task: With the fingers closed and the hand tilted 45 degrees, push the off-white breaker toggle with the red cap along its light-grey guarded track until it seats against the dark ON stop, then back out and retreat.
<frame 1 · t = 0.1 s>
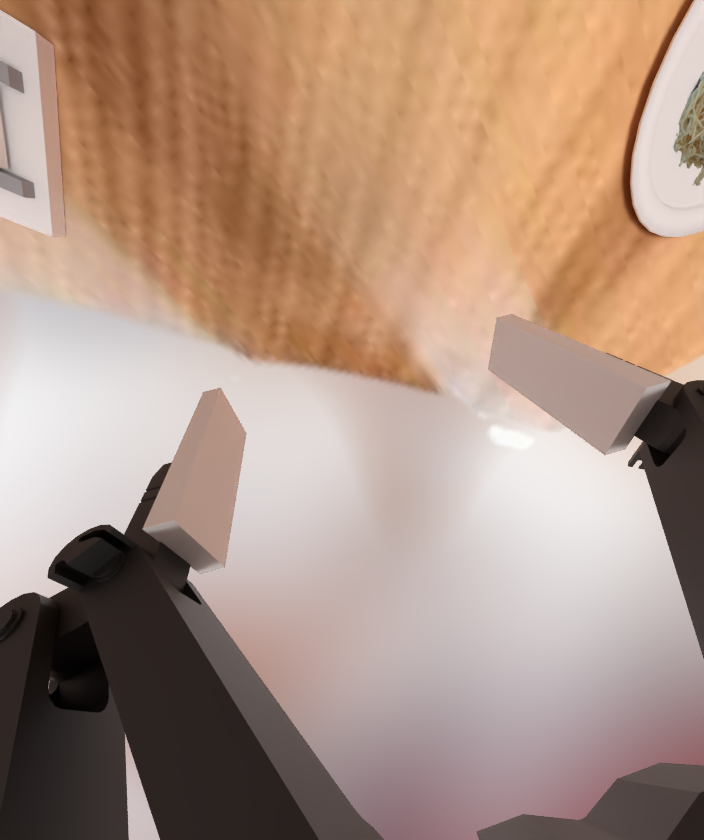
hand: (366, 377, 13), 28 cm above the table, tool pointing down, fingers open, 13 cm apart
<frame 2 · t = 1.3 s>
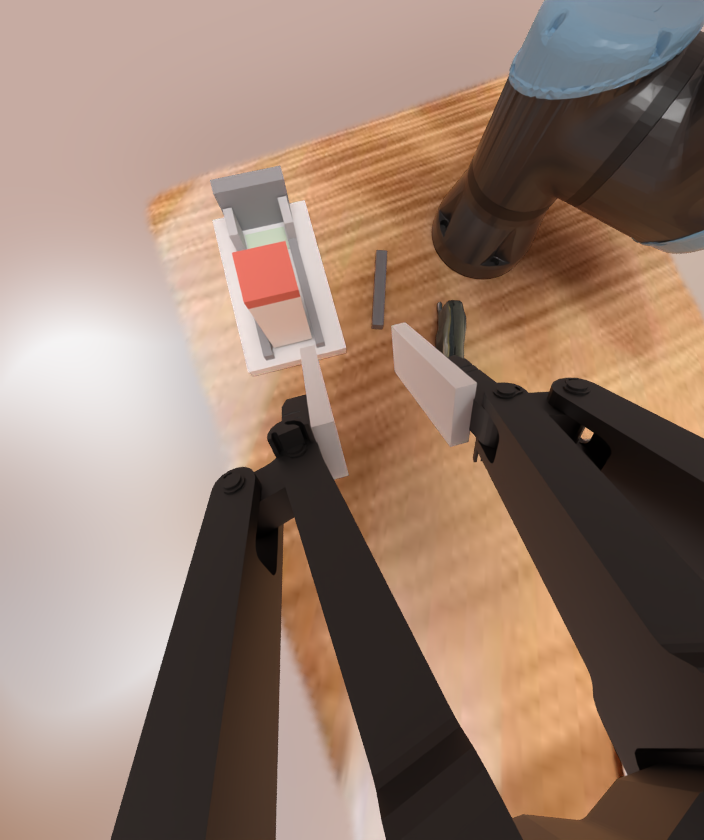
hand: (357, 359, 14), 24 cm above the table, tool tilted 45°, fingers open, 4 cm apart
gray railed slide base: (280, 290, 41), on the table
gray rectangular bar: (378, 293, 41), on the table
toggle: (278, 302, 32), point 8 cm above the table, slide at 0.0 cm
mobile phone: (442, 352, 40), on the table
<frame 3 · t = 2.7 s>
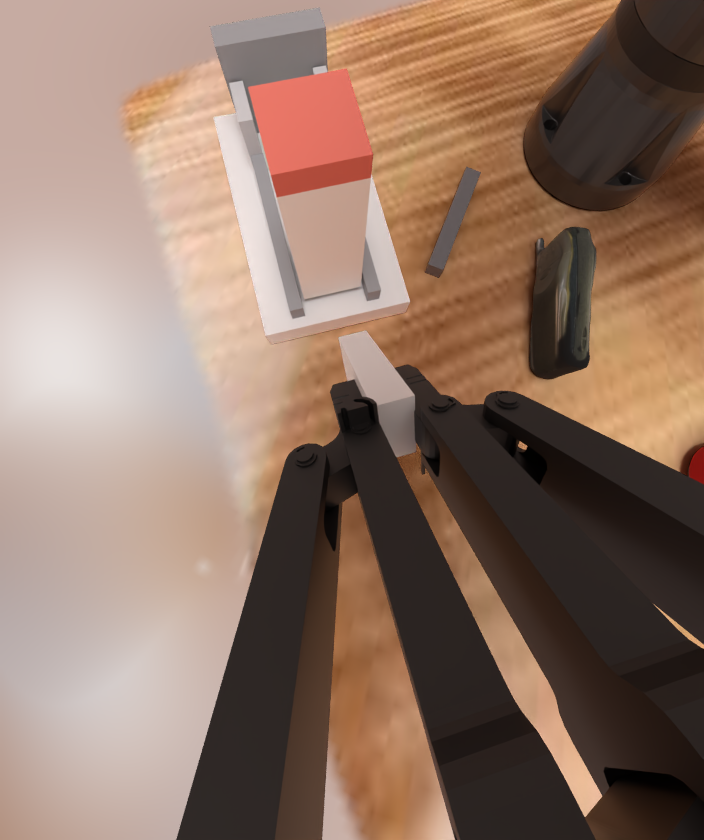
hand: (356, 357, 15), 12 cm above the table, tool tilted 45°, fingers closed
gray railed slide base: (311, 223, 28), on the table
gray rectangular bar: (449, 229, 29), on the table
toggle: (319, 214, 20), point 8 cm above the table, slide at 0.0 cm
mobile phone: (539, 311, 28), on the table
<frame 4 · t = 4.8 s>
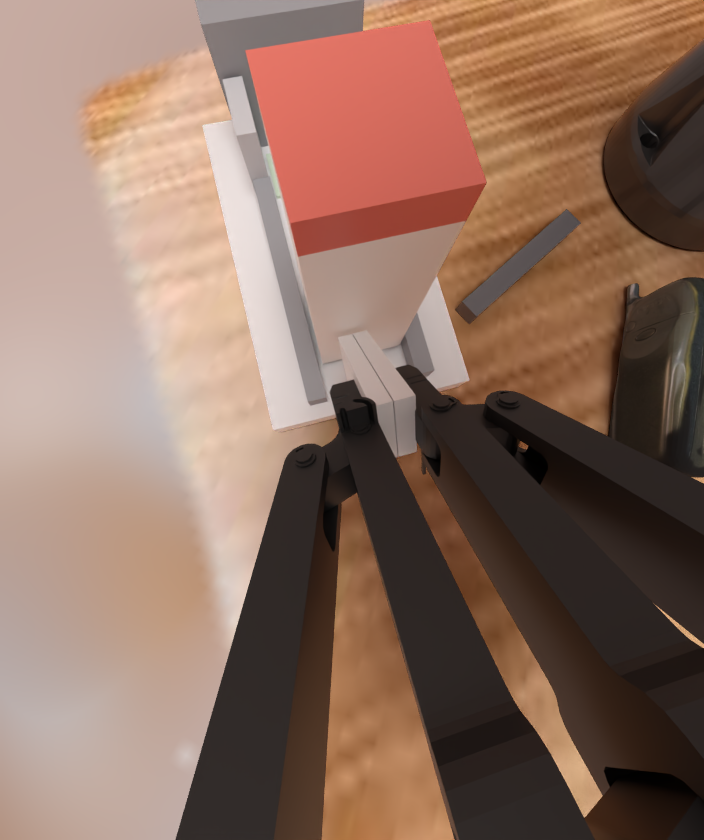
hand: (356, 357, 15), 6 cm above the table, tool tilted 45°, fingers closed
gray railed slide base: (331, 266, 21), on the table
gray rectangular bar: (510, 274, 22), on the table
toggle: (354, 260, 13), point 8 cm above the table, slide at 1.2 cm, touching gripper
mobile phone: (623, 377, 22), on the table
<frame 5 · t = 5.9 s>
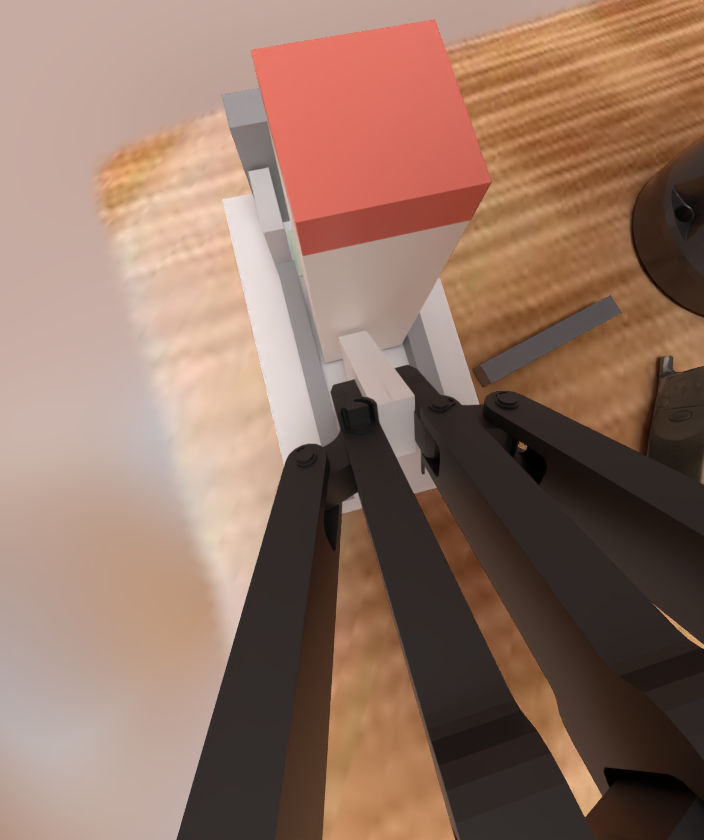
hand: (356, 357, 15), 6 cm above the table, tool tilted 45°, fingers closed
gray railed slide base: (354, 340, 21), on the table
gray rectangular bar: (537, 346, 22), on the table
toggle: (358, 259, 13), point 8 cm above the table, slide at 7.7 cm, touching gripper
mobile phone: (652, 451, 21), on the table
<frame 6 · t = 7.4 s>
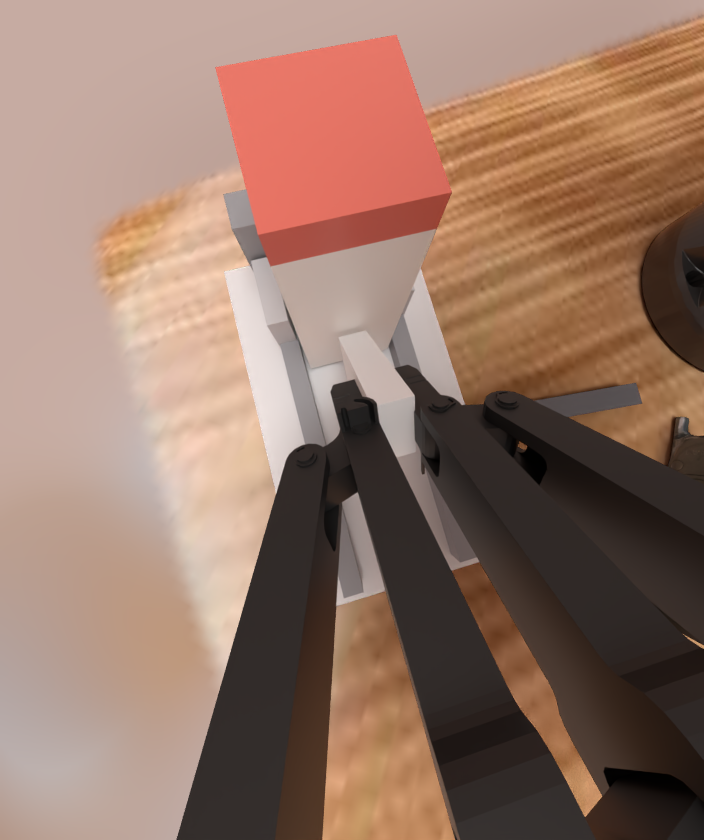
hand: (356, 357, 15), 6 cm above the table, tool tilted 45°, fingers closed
gray railed slide base: (359, 409, 20), on the table
gray rectangular bar: (546, 410, 21), on the table
toggle: (336, 267, 13), point 8 cm above the table, slide at 12.9 cm, touching gripper
mobile phone: (663, 514, 21), on the table
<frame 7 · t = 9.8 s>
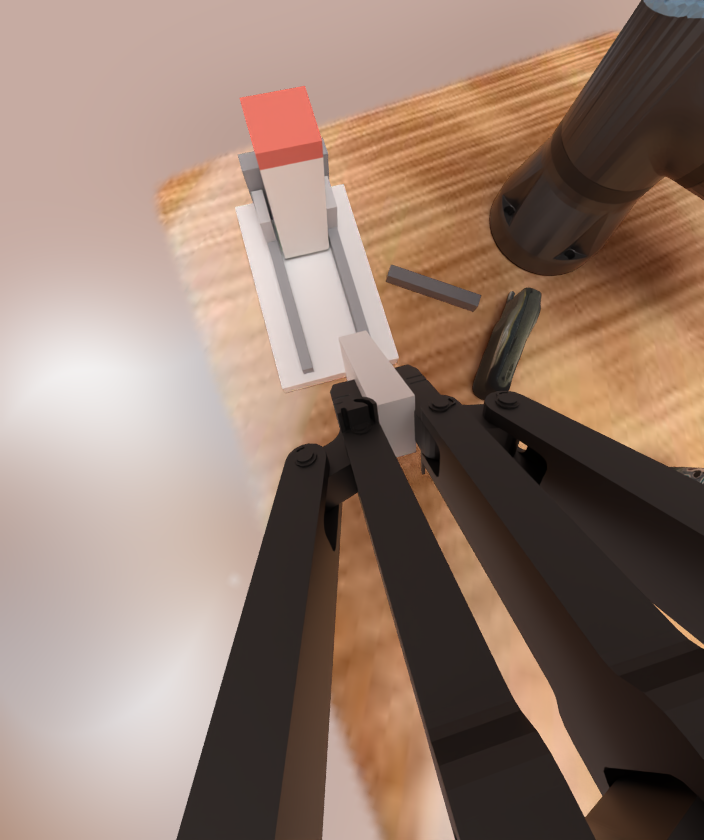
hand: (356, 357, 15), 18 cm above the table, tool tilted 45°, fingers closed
gray railed slide base: (316, 290, 34), on the table
gray rectangular bar: (430, 292, 35), on the table
toggle: (293, 188, 27), point 8 cm above the table, slide at 12.9 cm
mobile phone: (495, 347, 35), on the table
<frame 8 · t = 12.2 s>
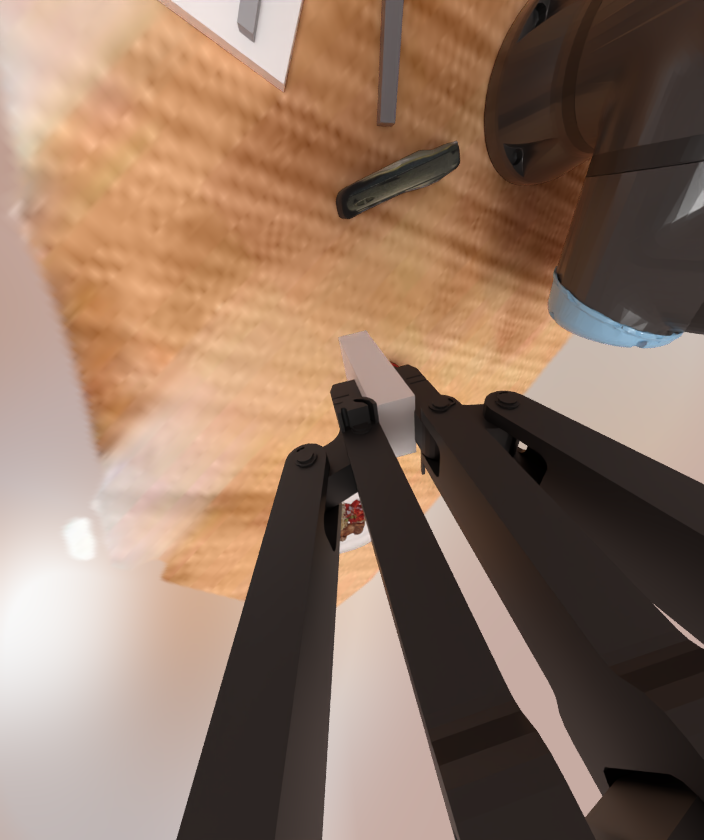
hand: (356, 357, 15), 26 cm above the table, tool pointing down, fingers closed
plated food: (337, 517, 70), on the table
gray rectangular bar: (387, 33, 25), on the table
mobile phone: (393, 181, 31), on the table
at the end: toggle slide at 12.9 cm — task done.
